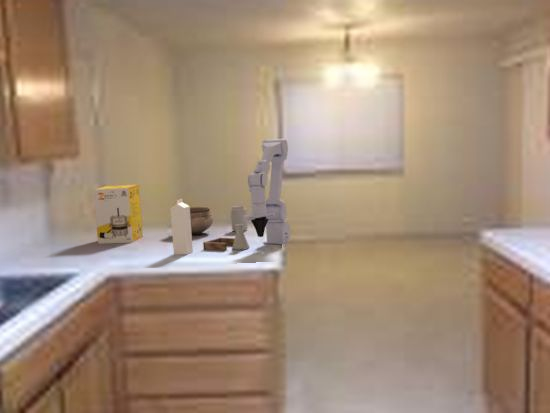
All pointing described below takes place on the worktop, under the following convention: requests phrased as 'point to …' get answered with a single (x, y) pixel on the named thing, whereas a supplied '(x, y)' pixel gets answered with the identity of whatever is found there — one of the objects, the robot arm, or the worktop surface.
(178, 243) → the milk
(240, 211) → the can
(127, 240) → the packaging box
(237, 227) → the flask
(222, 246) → the box
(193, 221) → the cooking pot
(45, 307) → the worktop surface
